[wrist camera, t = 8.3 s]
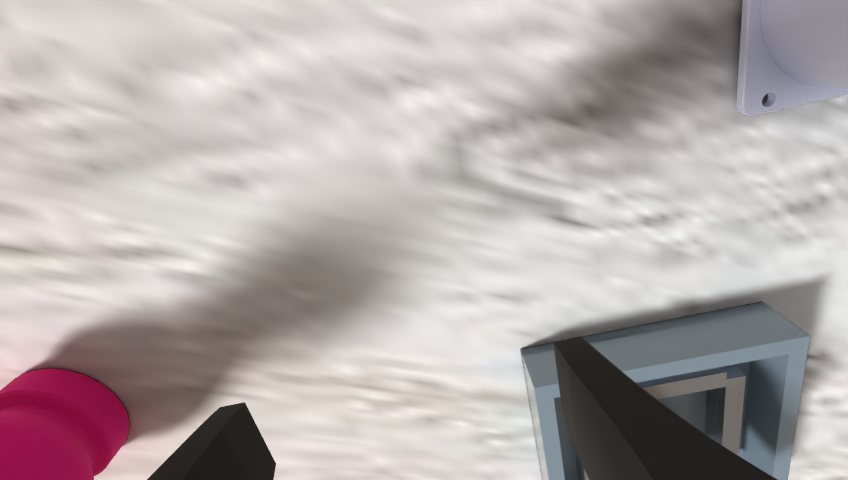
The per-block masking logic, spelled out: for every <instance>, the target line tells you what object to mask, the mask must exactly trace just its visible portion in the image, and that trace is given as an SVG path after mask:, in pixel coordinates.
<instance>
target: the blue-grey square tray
mask: <svg viewBox="0 0 848 480" xmlns="http://www.w3.org/2000/svg"><path fill="white" fill-rule="evenodd" d="M582 338H584V339H585V340H587V341H588V342H589V343H590V344H591V345H592V346H593V347H594V348H595V349H597V350H598V351H599V352H600V353H601V354H602V355H603V356H605V357H606V358H607V359H608V360H609V361H610V362H611V363H613V364H614V365H615V366H616V367H617V368H619V369H620V370H621V371H622V372H623V373H625V374H626V375H627V376H628V377H629V378H631V379H632V380H633V381H634V382H636V383H637V382H643V381H648V380H653V379H659V378H664V377H669V376H675V375H680V374H686V373H691V372H696V371H702V370H707V369H712V368H718V367H723V366H728V365H735V366H736V367H737V368H738V369H739V370H740V371H741V372H742V373H743V374H744V375H745V376H746V379H745V391H744V402H743V413H742V425H741V436H740V447H739V456H740V457H741V458H743V459H744V460H746V461H748V462H749V463H751V464H753V465H754V466H756V467H757V468H759V469H761V470H762V471H764V472H766V473H767V474H769V475H771V476H772V477H774V478H776V479H778V480H788V475H789V468H790V462H791V455H792V449H793V442H794V436H795V430H796V423H797V417H798V410H799V404H800V397H801V391H802V385H803V378H804V372H805V365H806V359H807V352H808V346H809V340H810V335H808V334H807V333H805V332H804V331H803V330H801V329H800V328H798V327H797V326H796V325H794V324H793V323H791V322H790V321H789V320H787V319H786V318H784V317H783V316H782V315H780V314H779V313H777V312H776V311H775V310H773V309H772V308H771V307H769V306H768V305H766V304H765V303H764V302H759V303H754V304H749V305H744V306H738V307H733V308H728V309H723V310H718V311H713V312H708V313H703V314H698V315H692V316H687V317H682V318H677V319H672V320H667V321H662V322H657V323H652V324H646V325H641V326H636V327H631V328H626V329H621V330H616V331H611V332H605V333H600V334H595V335H590V336H585V337H582ZM520 351H521V357H522V363H523V369H524V374H525V380H526V386H527V392H528V398H529V404H530V410H531V416H532V422H533V428H534V434H535V440H536V446H537V452H538V458H539V464H540V470H541V476H542V480H579V477H578V469H577V461H576V452H575V446H574V443H573V440H572V438H571V435H570V432H569V429H568V426H567V423H566V421H565V418H564V415H563V412H562V406H561V398H560V390H559V383H558V375H557V367H556V359H555V352H554V344H553V343H549V344H544V345H539V346H534V347H529V348H524V349H520ZM706 398H707V390H705V391H700V392H694V393H689V394H684V395H678V396H673V397H667V398H662V399H658V400H659V401H660V402H661V403H663V404H664V405H665V406H667V407H668V408H669V409H671V410H672V411H673V412H675V413H676V414H678V415H679V416H680V417H682V418H683V419H685V420H686V421H687V422H689V423H690V424H692V425H693V426H695V427H696V428H697V429H699V430H700V431H702V432H703V433H705V421H706Z"/></svg>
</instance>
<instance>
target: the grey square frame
mask: <svg viewBox="0 0 848 480" xmlns="http://www.w3.org/2000/svg"><path fill="white" fill-rule="evenodd" d="M745 379H746V376H745V375H744V374H743V373H742V372H741V371H740V370H739V369H738V368H737V367H736V366H735V365H728V366H723V367H718V368H712V369H707V370H702V371H696V372H691V373H686V374H680V375H675V376H669V377H664V378H659V379H653V380H648V381H643V382H637V384H638V385H639V386H641V387H642V388H643V389H645V390H646V391H647V392H648V393H650V394H651V395H652V396H654V397H655V398H656V399H662V398H667V397H673V396H678V395H684V394H689V393H694V392H700V391H705V390H707V398H706V421H705V434H706V435H707V436H709V437H710V438H712V439H713V440H715V441H716V442H718V443H719V444H721V445H722V446H724V447H726V448H727V449H729V450H730V451H732V452H733V453H735V454H736V455H738V456H739V447H740V436H741V425H742V413H743V402H744V391H745ZM575 452H576V449H575ZM576 461H577V469H578V477H579V480H589V478H588V476H587V474H586V472H585V470H584V467H583V465H582V463H581V461H580V459H579V457H578V454H577V452H576Z"/></svg>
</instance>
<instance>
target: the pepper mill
mask: <svg viewBox="0 0 848 480" xmlns="http://www.w3.org/2000/svg"><path fill="white" fill-rule="evenodd" d="M129 426H130V425H129V419H128V413H127V411H126V410H125V408H124V406H123V404H122V402H121V401H120V400H119V399H118V398H117V397H116V395H115V394H114V393H113V392H112V391H110V390H109V389H108V388H107V387H105V386H104V385H102V384H101V383H100V382H98V381H96V380H94V379H92V378H90V377H88V376H85V375H83V374H80V373H76V372H73V371H69V370H62V369H50V368H48V369H41V370H34V371H31V372H28V373H25V374H22V375H21V376H19V377H17V378H15V379H14V380H13V381H11V382H10V383H9V384H8V385H7V386H5V387H4V388H3V389H2V390H1V391H0V480H94V476H96V475H98V474H99V473H101V472H102V471H103V470H104V469H105V468H106V467H107V465H108V464H109V463H110V461H111V460H112V459H113V457H114V456H115V455H116V453H117V452H118V451H119V449H120V448H121V447H122V445H123V444H124V442H125V440H126V439H127V436H128V434H129Z"/></svg>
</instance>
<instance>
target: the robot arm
mask: <svg viewBox="0 0 848 480" xmlns="http://www.w3.org/2000/svg"><path fill="white" fill-rule="evenodd" d="M766 94H768V100H767V102H766V103H765V104H764V105H762V99H763V97H764V96H765V95H766ZM844 95H848V0H743V3H742V20H741V37H740V54H739V71H738V88H737V110H738V111H739V113H741V114H743V115H748V116H754V115H759V114H763V113H768V112H772V111H777V110H781V109H786V108H790V107H795V106H799V105H804V104H808V103H813V102H817V101H821V100H826V99H830V98H835V97H839V96H844ZM553 344H554V352H555V359H556V367H557V375H558V383H559V390H560V398H561V406H562V412H563V415H564V418H565V421H566V423H567V426H568V429H569V432H570V435H571V438H572V440H573V443H574V446H575V449H576V452H577V454H578V457H579V459H580V461H581V463H582V465H583V467H584V470H585V472H586V474H587V476H588V478H589V480H778V479H776V478H774V477H772V476H771V475H769V474H767V473H766V472H764V471H762V470H761V469H759V468H757V467H756V466H754V465H753V464H751V463H749V462H748V461H746V460H744V459H743V458H741V457H740V456H738V455H736V454H735V453H733V452H732V451H730V450H729V449H727V448H726V447H724V446H722V445H721V444H719V443H718V442H716V441H715V440H713V439H712V438H710V437H709V436H707V435H706V434H705V433H703V432H702V431H700V430H699V429H697V428H696V427H695V426H693V425H692V424H690V423H689V422H687V421H686V420H685V419H683V418H682V417H680V416H679V415H678V414H676V413H675V412H673V411H672V410H671V409H669V408H668V407H667V406H665V405H664V404H663V403H661V402H660V401H659V400H658V399H656V398H655V397H654V396H652V395H651V394H650V393H648V392H647V391H646V390H645V389H643V388H642V387H641V386H639V385H638V384H637V383H636V382H634V381H633V380H632V379H631V378H629V377H628V376H627V375H626V374H625V373H623V372H622V371H621V370H620V369H619V368H617V367H616V366H615V365H614V364H613V363H611V362H610V361H609V360H608V359H607V358H606V357H605V356H603V355H602V354H601V353H600V352H599V351H598V350H597V349H595V348H594V347H593V346H592V345H591V344H590V343H589V342H588V341H587V340H585V339H584V338H582V337H577V338H572V339H567V340H562V341H556V342H553ZM275 466H276V463H275V461H274V459H273V457H272V455H271V453H270V451H269V449H268V447H267V445H266V443H265V441H264V440H263V438H262V436H261V434H260V432H259V430H258V428H257V426H256V424H255V422H254V420H253V418H252V416H251V414H250V412H249V410H248V408H247V406H246V404H245V403H240V404H234V405H229V406H224V407H220V408H219V409H218V410H217V411H215V412H214V413H213V414H212V415H211V416H210V417H209V418H208V419H207V420H206V421H205V422H204V423H203V424H202V425H201V426H200V427H199V428H198V429H197V430H196V431H195V432H194V433H193V434H192V435H191V436H190V437H189V438H188V439H187V440H186V441H185V442H184V443H183V444H182V445H181V446H180V447H179V448H178V449H177V450H176V451H175V452H174V453H173V454H172V455H171V456H170V457H169V458H168V459H167V460H166V461H165V462H164V463H163V464H162V465H161V466H160V467H159V468H158V469H157V470H156V471H155V472H154V473H153V474H152V475H151V476H150V477H149V478H148V479H147V480H273V478H274V472H275Z"/></svg>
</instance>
